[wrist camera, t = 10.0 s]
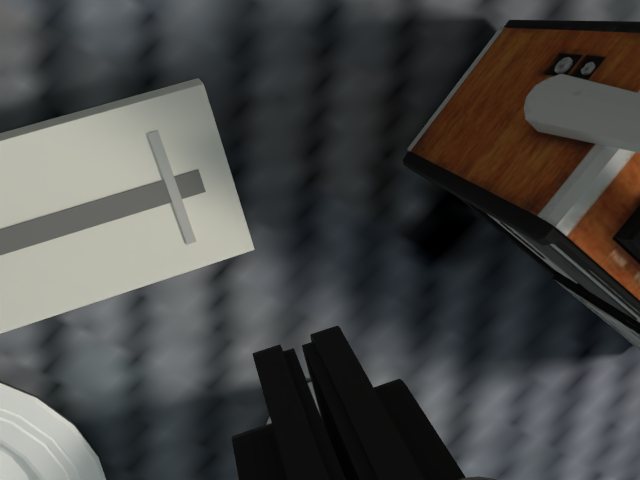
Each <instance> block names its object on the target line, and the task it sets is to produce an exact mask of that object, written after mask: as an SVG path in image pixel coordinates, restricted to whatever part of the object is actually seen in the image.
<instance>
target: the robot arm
mask: <svg viewBox="0 0 640 480" xmlns="http://www.w3.org/2000/svg"><path fill="white" fill-rule="evenodd" d="M311 341H312V342H311V343H308V344H305V345H302V348H303V352H304V356H305V360H306V363H307V367H308V371H309V374H310V378H311V382H312V386H313V389H314V393H315V397H316V401H317V404H318V408H319V411H318V408H317V406H316V403H315V401H314V398H313V396H312V393H311V391H310V388H309V386H308V383H307V381H306V378H305V376H304V373H303V371H302V368H301V366H300V363H299V360H298V358H297V355H296V353H295V350H294V349H290V350H287V351H284V352H283V350H282V348H281V345H277V346H274V347H271V348H268V349H265V350H262V351H258V352H255V353H253V357H254V361H255V365H256V368H257V372H258V375H259V379H260V383H261V386H262V390H263V393H264V397H265V401H266V404H267V408H268V411H269V415H270V419H271V422H272V423H270V424H267V425H264V426H261V427H258V428H255V429H252V430H250V431H247V432H244V433H241V434H238V435H235V436H232V442H233V448H234V454H235V460H236V465H237V471H238V476H239V480H497V479H493V478H486V477H469V478H466V477H465V476H464V474H463V473H462V471H461V470H460V468H459V466H458V465H457V463H456V462H455V460H454V459H453V457H452V456H451V454H450V453H449V451H448V449H447V448H446V446H445V445H444V443H443V442H442V440H441V439H440V437H439V435H438V434H437V432H436V431H435V429H434V428H433V426H432V425H431V423H430V422H429V420H428V418H427V417H426V415H425V414H424V412H423V411H422V409H421V408H420V406H419V405H418V403H417V401H416V400H415V398H414V397H413V395H412V394H411V392H410V391H409V389H408V388H407V386H406V385H405V383H404V382H403V381H402V380H401V379H397V380H394V381H392V382H389V383H386V384H383V385H380V386H377V387H374V388H373V386H372V384H371V383H370V381H369V379H368V377H367V375H366V374H365V372H364V370H363V368H362V367H361V365H360V363H359V361H358V359H357V358H356V356H355V354H354V352H353V350H352V349H351V347H350V345H349V343H348V342H347V340H346V338H345V336H344V334H343V333H342V331H341V329H340V327H339V326H335V327H332V328H329V329H326V330H323V331H320V332H317V333H314V334H311ZM319 412H320V413H319ZM320 415H321V416H320Z"/></svg>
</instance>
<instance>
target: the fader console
mask: <svg viewBox="0 0 640 480" xmlns="http://www.w3.org/2000/svg"><path fill="white" fill-rule="evenodd" d="M252 250H255V249H254V246H253V243H252V240H251V236H250V233H249V230H248V227H247V223H246V220H245V217H244V214H243V210H242V207H241V204H240V201H239V197H238V194H237V191H236V188H235V184H234V181H233V178H232V175H231V171H230V168H229V165H228V161H227V158H226V155H225V152H224V148H223V145H222V142H221V139H220V135H219V132H218V129H217V126H216V122H215V119H214V116H213V113H212V109H211V106H210V103H209V100H208V96H207V93H206V90H205V87H204V84H203V83H202V82H201V80H200V79H199V78H196V79H193V80H189V81H186V82H182V83H179V84H175V85H171V86H168V87H164V88H161V89H157V90H153V91H150V92H146V93H143V94H139V95H135V96H132V97H128V98H125V99H121V100H118V101H114V102H110V103H107V104H103V105H100V106H96V107H92V108H89V109H85V110H82V111H78V112H74V113H71V114H67V115H64V116H60V117H57V118H53V119H49V120H46V121H42V122H39V123H35V124H31V125H28V126H24V127H21V128H17V129H13V130H10V131H6V132H3V133H0V334H1V333H4V332H7V331H10V330H13V329H16V328H19V327H22V326H25V325H28V324H31V323H34V322H37V321H40V320H43V319H46V318H49V317H52V316H55V315H58V314H61V313H64V312H67V311H70V310H73V309H76V308H79V307H82V306H85V305H89V304H92V303H95V302H98V301H101V300H104V299H107V298H110V297H113V296H116V295H119V294H122V293H125V292H128V291H131V290H134V289H137V288H140V287H143V286H146V285H149V284H152V283H155V282H158V281H161V280H164V279H167V278H170V277H173V276H176V275H179V274H182V273H185V272H188V271H192V270H195V269H198V268H201V267H204V266H207V265H210V264H213V263H216V262H219V261H222V260H225V259H228V258H231V257H234V256H237V255H240V254H243V253H246V252H249V251H252Z"/></svg>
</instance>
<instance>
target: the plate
mask: <svg viewBox="0 0 640 480" xmlns="http://www.w3.org/2000/svg"><path fill="white" fill-rule="evenodd" d="M0 480H107V479H106V476H105V473H104V470H103V467H102V465H101V462H100V459H99V456H98V454H97V453H96V452H95V450H94V449H93V448H92V446H91V445H90V444H89V442H88V441H87V440H86V439H85V437H84V436H83V435H82V433H81V432H80V431H79V429H78V428H77V427H76V425H75V424H74V423H73V422H71V421H70V420H69V419H67V418H66V417H64V416H63V415H62V414H60V413H59V412H58V411H56V410H55V409H54V408H52V407H51V406H49V405H48V404H47V403H45V402H44V401H43V400H41V399H40V398H39V397H37V396H35V395H32V394H30V393H28V392H25V391H23V390H20V389H18V388H15V387H13V386H11V385H8V384H6V383H3V382H1V381H0Z"/></svg>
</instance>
